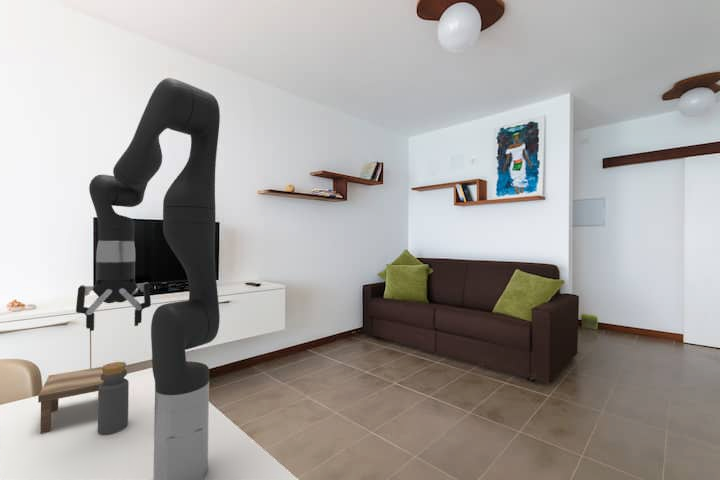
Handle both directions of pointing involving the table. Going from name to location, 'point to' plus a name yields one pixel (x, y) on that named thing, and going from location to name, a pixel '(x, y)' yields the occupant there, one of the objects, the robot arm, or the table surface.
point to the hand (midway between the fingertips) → (114, 327)
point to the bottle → (113, 399)
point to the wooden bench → (65, 391)
